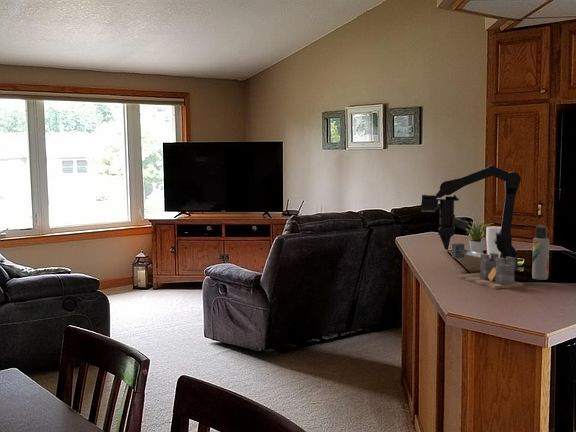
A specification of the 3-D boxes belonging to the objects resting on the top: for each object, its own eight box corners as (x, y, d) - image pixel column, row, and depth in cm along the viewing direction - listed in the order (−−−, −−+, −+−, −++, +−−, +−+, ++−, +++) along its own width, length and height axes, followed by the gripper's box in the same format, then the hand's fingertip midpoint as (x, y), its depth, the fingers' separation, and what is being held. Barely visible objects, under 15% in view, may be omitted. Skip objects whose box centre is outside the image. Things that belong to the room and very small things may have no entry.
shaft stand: (457, 277, 249) (457, 250, 248) (483, 274, 253) (484, 248, 252) (495, 289, 227) (495, 260, 226) (523, 286, 231) (524, 257, 230)
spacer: (487, 276, 237) (493, 267, 233) (498, 275, 239) (504, 266, 235) (490, 281, 235) (496, 272, 232) (502, 280, 237) (508, 271, 233)
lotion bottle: (547, 277, 246) (549, 225, 244) (548, 280, 241) (550, 226, 239) (531, 276, 248) (533, 224, 246) (532, 279, 243) (533, 226, 241)
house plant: (491, 251, 309) (492, 217, 307) (498, 256, 295) (499, 220, 294) (461, 251, 310) (461, 217, 309) (466, 256, 297) (466, 220, 295)
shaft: (451, 257, 259) (452, 243, 258) (460, 256, 260) (460, 243, 260) (485, 266, 238) (485, 251, 238) (494, 265, 240) (495, 250, 239)
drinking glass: (502, 263, 278) (503, 228, 276) (486, 262, 279) (486, 228, 278) (501, 260, 284) (501, 226, 283) (484, 260, 286) (485, 226, 284)
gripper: (467, 214, 253) (467, 253, 255) (467, 209, 271) (466, 246, 273) (438, 213, 256) (438, 253, 258) (439, 209, 274) (439, 246, 276)
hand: (446, 249), depth 266 cm, fingers closed
